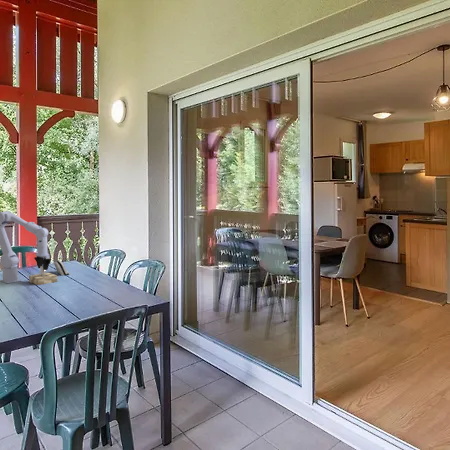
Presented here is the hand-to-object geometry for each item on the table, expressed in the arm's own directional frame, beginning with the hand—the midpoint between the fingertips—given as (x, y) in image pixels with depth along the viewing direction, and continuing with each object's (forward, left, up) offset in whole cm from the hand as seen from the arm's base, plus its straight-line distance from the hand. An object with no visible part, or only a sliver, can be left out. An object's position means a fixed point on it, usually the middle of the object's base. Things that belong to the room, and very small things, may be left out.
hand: (42, 268), depth 235 cm
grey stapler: (-16, +20, -9) cm, 27 cm away
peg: (0, 0, -8) cm, 8 cm away
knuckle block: (0, 0, -8) cm, 8 cm away
